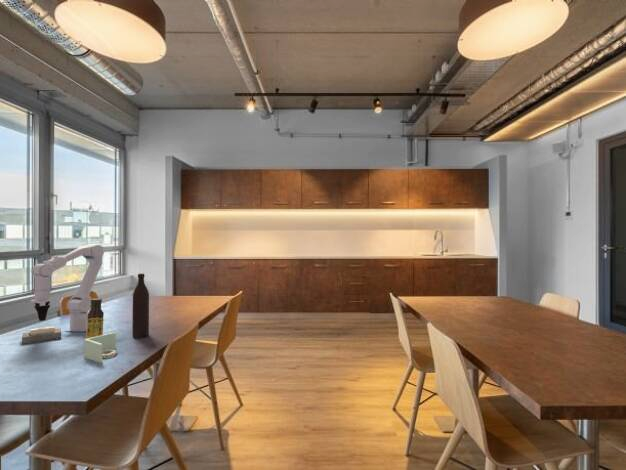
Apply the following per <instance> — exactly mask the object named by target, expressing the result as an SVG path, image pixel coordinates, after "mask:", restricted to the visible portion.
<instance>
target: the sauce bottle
mask: <svg viewBox="0 0 626 470" xmlns="http://www.w3.org/2000/svg"><path fill="white" fill-rule="evenodd" d="M102 301H103V300H102V298H101V297H100V298H91V306H90V309H89V310H88V312H89V313H88V319H87V331H85V332H86V335H85V337H86V338H85V339H88V338H92V337H96V336H101V335H104V315H105V314H104V312H103V309H102Z"/></svg>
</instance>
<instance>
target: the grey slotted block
mask: <svg viewBox="0 0 626 470" xmlns="http://www.w3.org/2000/svg"><path fill="white" fill-rule="evenodd" d="M59 339H60V340H61V339H62V329H61V327H60V328H55V332H52V333H42V334H37V335H30V331H29V332H23V333H22V335H21V344H22V345H26V344H32V343H40V342H46V341H52V340H59Z"/></svg>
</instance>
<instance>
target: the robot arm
mask: <svg viewBox="0 0 626 470" xmlns="http://www.w3.org/2000/svg"><path fill="white" fill-rule="evenodd" d="M104 253H105V249H104V248H103V246H102V245H100V244H82V245H80V246H78V247H77V248H75V249H74V250H72V251H69V252H68V253H66V254H64V255H54V256H53V258H50V259H48V260H44V261H43V262H42V263H36V264H35V265H34V266H33V268H32V269H31V271H30V272H31V274H32V275H33V278H34V299H31V300H30V301H31V302H33V303H34V309H35V310H36V313H37V316H38V322H43V321H46V318H47V315H48V311H49V309H50V307H51V300H52V299H51V276H52V275H53V273H54V272H56V271H59V270H60V269H61V268H64V267H66V265H67V263H68V262H70V261H73V260H75V259H77V258H79V257H81V256H82V257H83V258H85V260H86V261H87V262H88V266H87V268H86V271H85V273H84V275H83V277H82V280H81V281H80V282H81V283H80V285H79V287H78V290H77V291H76V293H74V294H72V296H71V298H70V299H69V300H68V301H67V303H66V309H67V310H68V311H69V329H67V330H65V332H78V333H79V332H87V319H88V313H89V311H90V309H91V299H92V297H91V296H90V294H91V291H92V289H93V286H94V284H95V282H96V279H97V277H98V275H99V272H100V270H101V267H102V265H103V257H104Z"/></svg>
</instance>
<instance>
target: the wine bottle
mask: <svg viewBox="0 0 626 470" xmlns="http://www.w3.org/2000/svg"><path fill="white" fill-rule="evenodd" d="M137 280H138V281H137V285H136V287H135V288H134V291H133V294H132V329H131V331H132V332H131V333H132V338H134V339H142V338H146V337H148V336H149V335H150V293H149V290H148V288H147V286H146V283H145V273H138V274H137Z"/></svg>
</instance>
